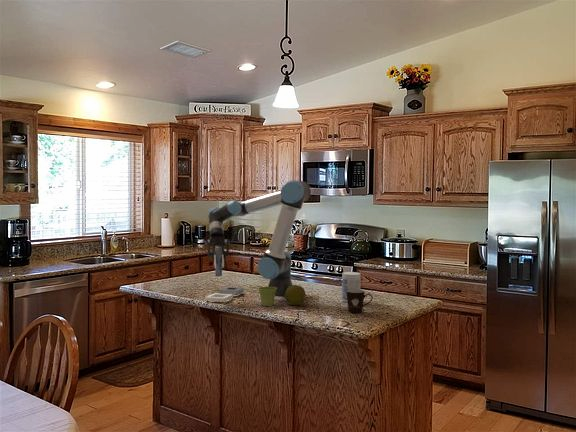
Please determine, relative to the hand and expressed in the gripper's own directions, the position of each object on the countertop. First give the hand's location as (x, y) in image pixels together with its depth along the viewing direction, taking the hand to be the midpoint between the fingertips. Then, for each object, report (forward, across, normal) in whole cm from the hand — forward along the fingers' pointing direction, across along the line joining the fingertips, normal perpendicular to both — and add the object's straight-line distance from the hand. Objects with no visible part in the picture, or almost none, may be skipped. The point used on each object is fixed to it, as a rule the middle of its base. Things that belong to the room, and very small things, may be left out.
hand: (219, 266), depth 268 cm
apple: (+24, -37, -3) cm, 44 cm away
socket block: (+1, -8, -26) cm, 27 cm away
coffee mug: (+40, -62, +13) cm, 75 cm away
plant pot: (+22, -23, -4) cm, 32 cm away
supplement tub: (+22, -67, -4) cm, 71 cm away
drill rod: (+1, 0, -7) cm, 7 cm away
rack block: (+11, 0, -16) cm, 19 cm away
